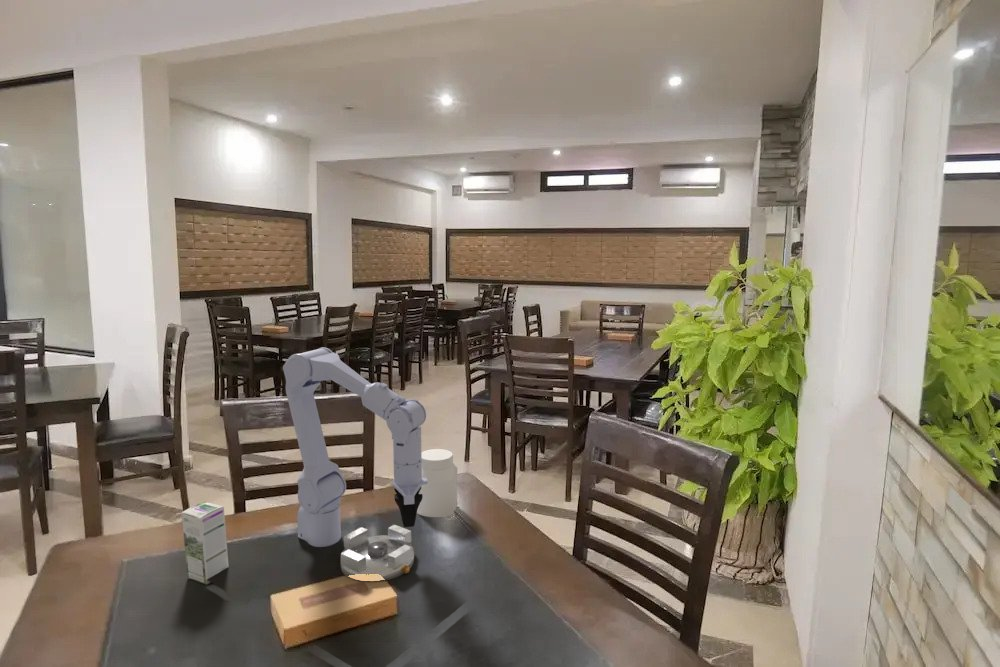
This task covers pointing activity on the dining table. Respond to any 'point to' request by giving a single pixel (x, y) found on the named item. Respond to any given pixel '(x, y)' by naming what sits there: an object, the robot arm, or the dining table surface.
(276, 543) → the dining table surface
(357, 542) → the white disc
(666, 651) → the dining table surface
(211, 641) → the dining table surface
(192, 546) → the syrup box
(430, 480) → the jar
